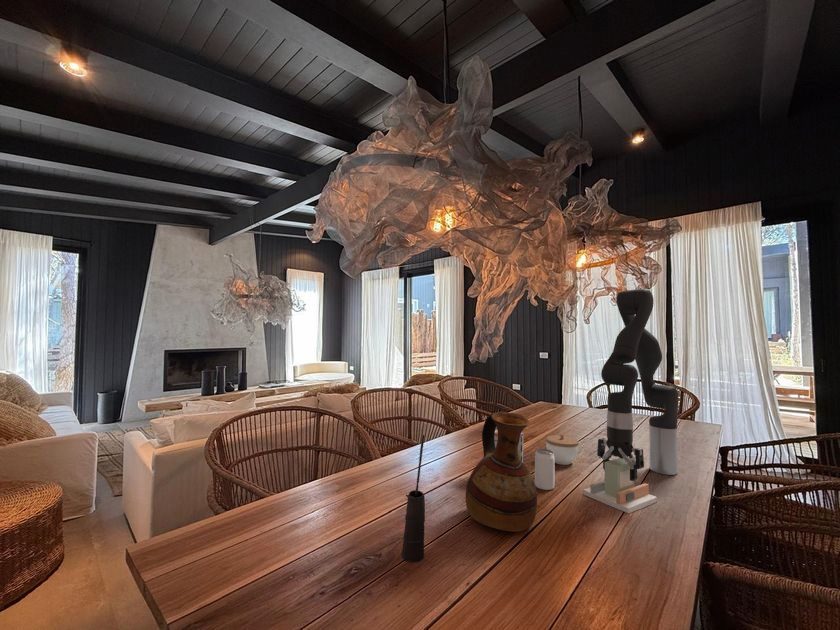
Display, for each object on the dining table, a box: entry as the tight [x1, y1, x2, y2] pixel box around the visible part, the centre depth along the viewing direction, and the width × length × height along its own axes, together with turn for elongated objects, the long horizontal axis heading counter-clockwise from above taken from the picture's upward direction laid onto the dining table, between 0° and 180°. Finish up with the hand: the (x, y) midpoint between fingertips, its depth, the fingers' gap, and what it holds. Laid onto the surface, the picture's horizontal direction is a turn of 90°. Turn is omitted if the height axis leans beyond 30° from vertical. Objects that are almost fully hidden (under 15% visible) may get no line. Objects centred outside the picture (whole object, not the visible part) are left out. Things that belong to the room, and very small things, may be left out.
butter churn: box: [400, 434, 426, 563], centre depth 88 cm, size 9×10×28 cm
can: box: [534, 448, 556, 491], centre depth 131 cm, size 6×6×12 cm
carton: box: [604, 457, 635, 498], centre depth 123 cm, size 4×9×10 cm, turn 121°
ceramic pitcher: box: [465, 411, 538, 533], centre depth 107 cm, size 20×20×30 cm
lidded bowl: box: [545, 433, 579, 466], centre depth 157 cm, size 13×13×11 cm
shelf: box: [582, 479, 658, 514], centre depth 123 cm, size 16×15×4 cm
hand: (619, 475), depth 123 cm, fingers open, 8 cm apart
